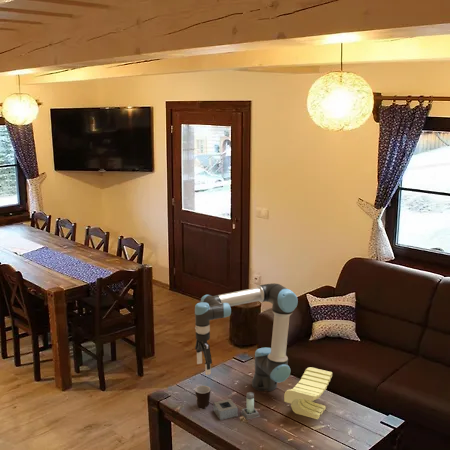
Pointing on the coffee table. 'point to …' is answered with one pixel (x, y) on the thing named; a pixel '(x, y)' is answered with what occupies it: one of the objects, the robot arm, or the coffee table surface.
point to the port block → (225, 409)
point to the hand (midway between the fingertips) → (203, 368)
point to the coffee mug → (202, 396)
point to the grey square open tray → (252, 415)
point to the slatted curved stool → (309, 392)
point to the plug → (250, 403)
